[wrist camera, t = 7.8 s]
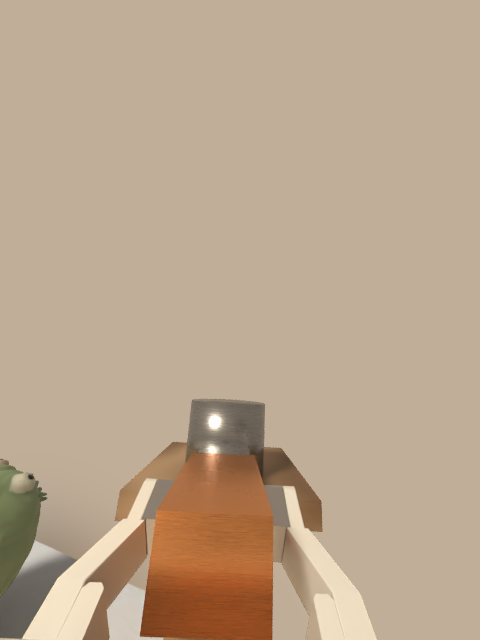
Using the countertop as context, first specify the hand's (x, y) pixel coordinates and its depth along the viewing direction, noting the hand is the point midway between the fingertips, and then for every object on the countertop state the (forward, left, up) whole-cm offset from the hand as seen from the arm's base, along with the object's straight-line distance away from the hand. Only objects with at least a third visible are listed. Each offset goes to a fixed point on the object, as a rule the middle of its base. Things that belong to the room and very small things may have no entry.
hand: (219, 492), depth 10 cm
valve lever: (0, -3, -2) cm, 4 cm away
